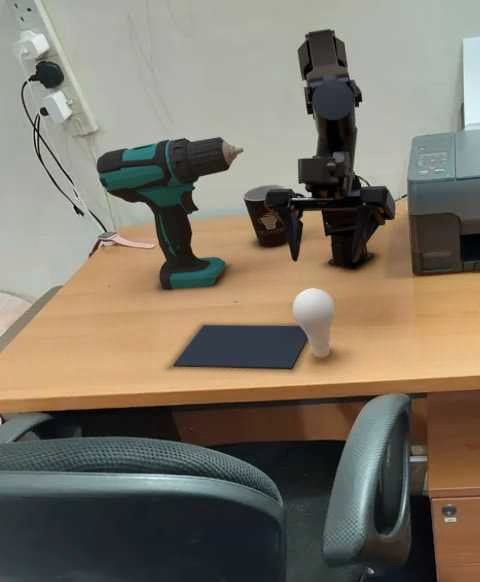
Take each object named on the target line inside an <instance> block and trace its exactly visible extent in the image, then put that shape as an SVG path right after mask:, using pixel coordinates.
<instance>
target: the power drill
mask: <svg viewBox="0 0 480 582" xmlns="http://www.w3.org/2000/svg"><path fill="white" fill-rule="evenodd" d="M242 153H244V148H243V147H236V146H235V145H232V144H230V143H229V142H227V141H226V140H225V139H223V138H222V137H221V136H217V137H211V138H206V139H199V140H194V141H191V140H189V139H187V138H186V137H183V138H177V139H172V140H170V139H165V140H161V141H158V142H155V143H150V144H149V143H148V144H145V145H140V146H135V147H132V148H126V147H125V148H120V149H116V150H110V151H106V152H105V153H103V154H102V155H101V156H99V157H98V159H97V161H96V172H97V173H98V176H99V182H100V184H101V186H102V188H104V189H105V190H106V192H107V193H108V194H109V195H111V196H114V197H116V198H118V199H121V200H123V201H125V202H127V203H131V204H136V203H143V204H146V206H148V207H149V209H150V210H151V213H152V214H153V218H154V225H155V232H156V238H157V241H158V246H159V247H160V249H161V251H162V253H163V256H164V259H165V261H164V262H163V263H162V265H161V267H160V270H159V274H158V275H159V276H158V277H159V278H158V280H159V282H160V285H161V289H163V290H169V291H170V290H173V289H175V290H176V289H191V288H205V287H206V288H207V287H212V286H214V285H215V283H216V277H218V276H219V275H221V274H222V273H223V272H224V270H225V268H226V261H225V260H223V259H222V258H221V257H218V256H211V257H210V256H208V257H197V256H196V255H195V253H194V252H193V248H192V246H191V244H192V239H193V230H192V225H191V221H190V219H189V215H192V214H193V213H194V212H198V211H199V208H198V206H197V205H196V203H195V202H194V200H193V191H195V189H196V186H194V183H196V182H198V180H199V179H200V177H205V176H209V175H215V174H219V173H223V172H226V171H229V169H230V167H231V166H232V164H233V162H234V160H235V159H236V158H237V157H238V155H239V154H242Z"/></svg>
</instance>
